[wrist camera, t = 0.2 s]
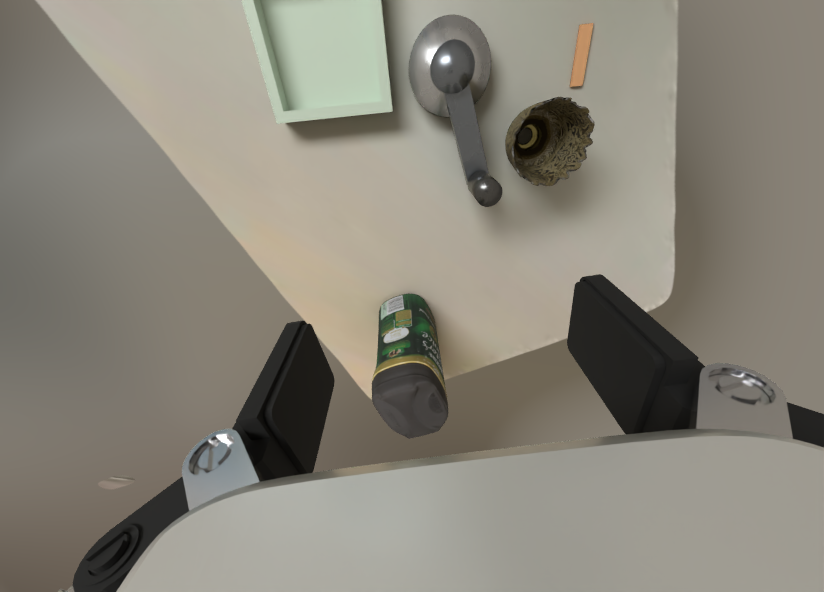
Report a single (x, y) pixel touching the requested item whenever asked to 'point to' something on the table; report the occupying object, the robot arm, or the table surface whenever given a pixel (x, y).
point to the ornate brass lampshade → (550, 140)
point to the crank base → (428, 45)
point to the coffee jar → (409, 368)
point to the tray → (321, 57)
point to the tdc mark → (581, 54)
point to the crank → (464, 116)
